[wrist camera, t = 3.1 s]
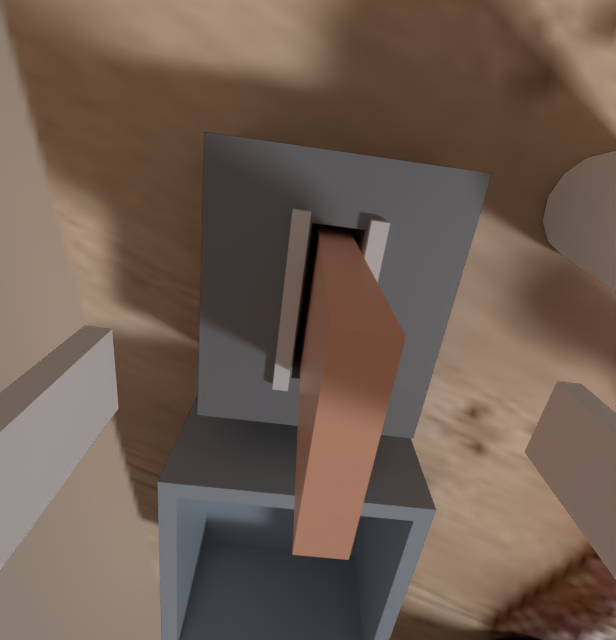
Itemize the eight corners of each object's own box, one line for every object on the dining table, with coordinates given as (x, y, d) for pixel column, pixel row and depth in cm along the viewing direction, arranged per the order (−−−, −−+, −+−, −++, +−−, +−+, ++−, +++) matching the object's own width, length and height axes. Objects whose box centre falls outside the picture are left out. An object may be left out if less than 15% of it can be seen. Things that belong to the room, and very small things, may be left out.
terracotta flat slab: (326, 333, 25) (348, 560, 11) (301, 330, 25) (292, 554, 11) (345, 222, 22) (405, 337, 8) (317, 218, 22) (331, 327, 8)
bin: (361, 552, 36) (377, 673, 27) (197, 537, 35) (162, 656, 27) (400, 409, 29) (436, 509, 21) (201, 387, 29) (157, 482, 20)
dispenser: (389, 373, 28) (415, 444, 21) (223, 354, 28) (194, 420, 21) (440, 167, 23) (497, 173, 16) (234, 138, 22) (201, 131, 15)
